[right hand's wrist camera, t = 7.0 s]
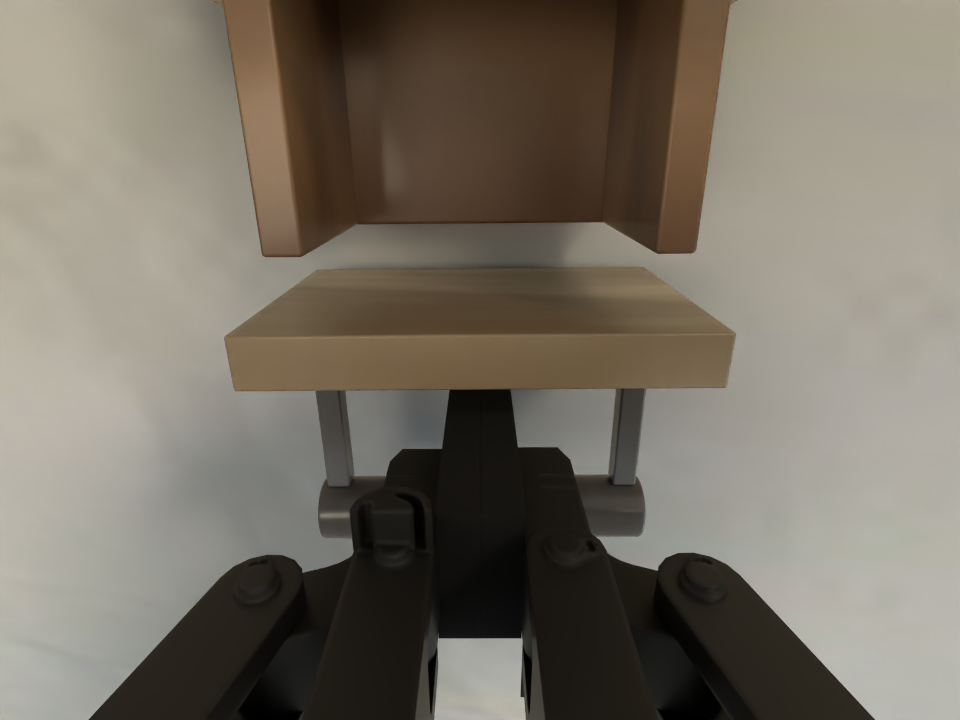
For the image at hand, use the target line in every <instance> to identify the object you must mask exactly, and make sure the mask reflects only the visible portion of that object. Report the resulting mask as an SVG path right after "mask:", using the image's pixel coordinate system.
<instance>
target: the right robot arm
mask: <svg viewBox="0 0 960 720" xmlns="http://www.w3.org/2000/svg"><path fill="white" fill-rule="evenodd" d="M349 513H350V522H351V531H352V541H353V550H354V552H353V555H352V556H351V557H350V558H348V559H346V560H344V561H342V562H340V563H338V564H335V565H332V566H329V567H325V568H321V569H317V570H313V571H309V572H305V573H302V568H301V567H300V566H299V565H298V564H297V562H296V561H295V560H293V559H291V558H288V557H285V556H283V555H265V556H260V557H256V558H251V559H249V560H247V561H245V562H242V563H240V564H238V565H236V566H234V567H233V568H232V569H230V570H229V571H228V572H227V573H225V574H224V575H223V576H222V577H221V578H220V579H219V580H218V581H217V582H216V583H215V584H214V585H213V586H212V587H211V588H210V589H209V591H208V592H207V593H206V594H205V595H204V596H203V597H202V598H201V599H200V600H199V601H198V602H197V603H196V605H195V606H194V607H193V608H192V609H191V610H190V611H189V612H188V613H187V614H186V615H185V616H184V617H183V619H182V620H181V621H180V622H179V623H178V624H177V625H176V626H175V627H174V628H173V629H172V630H171V631H170V633H169V634H168V635H167V636H166V637H165V638H164V639H163V640H162V641H161V642H160V643H159V644H158V645H157V647H156V648H155V649H154V650H153V651H152V652H151V653H150V654H149V655H148V656H147V657H146V658H145V659H144V661H143V662H142V663H141V664H140V665H139V666H138V667H137V668H136V669H135V670H134V671H133V672H132V673H131V675H130V676H129V677H128V678H127V679H126V680H125V681H124V682H123V683H122V684H121V685H120V686H119V687H118V689H117V690H116V691H115V692H114V693H113V694H112V695H111V696H110V697H109V698H108V699H107V700H106V701H105V703H104V704H103V705H102V706H101V707H100V708H99V709H98V710H97V711H96V712H95V713H94V714H93V715H92V717H91V718H90V719H89V720H434V713H435V700H436V687H437V674H438V650H437V642H438V633H439V638H521V635H522V639H523V650H522V675H521V697H524V699H525V712H526V720H875V719H874V718H873V717H872V716H871V715H870V714H869V713H868V712H867V711H866V710H865V709H864V707H863V706H862V705H861V704H860V703H859V702H858V701H857V700H856V699H855V698H854V697H853V696H852V695H851V694H850V692H849V691H848V690H847V689H846V688H845V687H844V686H843V685H842V684H841V683H840V682H839V681H838V680H837V679H836V678H835V676H834V675H833V674H832V673H831V672H830V671H829V670H828V669H827V668H826V667H825V666H824V665H823V664H822V663H821V661H820V660H819V659H818V658H817V657H816V656H815V655H814V654H813V653H812V652H811V651H810V650H809V649H808V648H807V646H806V645H805V644H804V643H803V642H802V641H801V640H800V639H799V638H798V637H797V636H796V635H795V634H794V633H793V631H792V630H791V629H790V628H789V627H788V626H787V625H786V624H785V623H784V622H783V621H782V620H781V619H780V618H779V616H778V615H777V614H776V613H775V612H774V611H773V610H772V609H771V608H770V607H769V606H768V605H767V604H766V603H765V602H764V600H763V599H762V598H761V597H760V596H759V595H758V594H757V593H756V592H755V591H754V590H753V589H752V588H751V587H750V585H749V584H748V583H747V582H746V581H745V580H744V579H743V578H742V577H741V576H740V575H739V574H738V573H737V572H735V571H734V570H733V569H732V568H730V567H729V566H728V565H727V564H725V563H723V562H721V561H718V560H716V559H714V558H712V557H710V556H705V555H701V554H697V553H677V554H675V555H672V556H670V557H667V558H665V560H664V561H663V562H662V563H661V564H660V565H659V568H658V571H656V570H652V569H647V568H643V567H639V566H635V565H632V564H629V563H625V562H622V561H620V560H618V559H616V558H614V557H612V556H610V555H609V554H608V553H607V551H606V549H605V548H604V546H603V544H602V543H601V541H600V540H599V539H598V538H596V537H595V536H594V535H593V534H591V530H590V527H589V523H588V520H587V517H586V513H585V510H584V506H583V503H582V499H581V496H580V492H579V489H578V485H577V482H576V478H575V477H574V472H573V468H572V465H571V461H570V459H569V458H568V457H567V456H566V455H565V454H564V453H563V452H562V451H561V450H560V449H559V448H558V447H518V446H517V438H516V430H515V422H514V414H513V406H512V398H511V390H510V389H476V390H450V391H449V399H448V407H447V415H446V423H445V431H444V438H443V446H442V449H402V450H401V451H400V452H399V453H398V454H397V455H396V456H395V457H394V458H393V459H392V460H391V461H390V464H389V467H388V471H387V474H386V479H385V481H384V484H383V487H382V488H379V489H376V490H373V491H370V492H367V493H366V494H364V495H363V496H361V497H360V498H359V499H357V500H356V501H355V502H354V504H353V505H352V507H351V508H350V510H349Z"/></svg>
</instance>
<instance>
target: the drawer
mask: <svg viewBox="0 0 960 720" xmlns="http://www.w3.org/2000/svg"><path fill="white" fill-rule="evenodd" d="M223 6H224V13H225V19H226V26H227V32H228V39H229V45H230V51H231V58H232V64H233V71H234V77H235V83H236V90H237V96H238V103H239V109H240V116H241V122H242V128H243V135H244V141H245V148H246V154H247V160H248V167H249V173H250V180H251V186H252V193H253V199H254V205H255V212H256V218H257V225H258V231H259V238H260V244H261V250H262V255H263V256H264V257H301V256H304V255H305V254H307V253H309V252H310V251H312V250H314V249H315V248H317V247H319V246H321V245H322V244H324V243H326V242H327V241H329V240H331V239H333V238H334V237H336V236H338V235H339V234H341V233H343V232H344V231H346V230H348V229H350V228H351V227H353V226H355V225H356V224H448V223H567V222H604V223H605V224H607V225H609V226H611V227H612V228H614V229H616V230H617V231H619V232H621V233H623V234H624V235H626V236H628V237H630V238H631V239H633V240H635V241H636V242H638V243H640V244H642V245H643V246H645V247H647V248H648V249H650V250H652V251H654V252H655V253H658V254H687V253H694V252H695V251H696V247H697V240H698V232H699V225H700V218H701V210H702V203H703V196H704V189H705V181H706V174H707V167H708V160H709V152H710V145H711V138H712V130H713V123H714V116H715V109H716V101H717V94H718V87H719V79H720V72H721V65H722V58H723V50H724V43H725V36H726V29H727V21H728V14H729V7H730V0H223ZM735 337H736V334H735V332H734V331H732V330H731V329H729V328H728V327H727V326H725V325H724V324H722V323H721V322H720V321H718V320H717V319H715V318H714V317H713V316H711V315H710V314H708V313H707V312H706V311H704V310H703V309H701V308H700V307H699V306H697V305H696V304H694V303H693V302H692V301H690V300H689V299H687V298H686V297H685V296H683V295H682V294H680V293H679V292H678V291H676V290H675V289H673V288H672V287H671V286H669V285H668V284H666V283H665V282H664V281H662V280H661V279H659V278H658V277H657V276H655V275H654V274H652V273H651V272H650V271H648V270H647V269H645V268H644V267H617V268H492V269H366V270H316V271H315V272H313V273H312V274H311V275H309V276H308V277H306V278H305V279H304V280H302V281H301V282H300V283H298V284H297V285H295V286H294V287H293V288H291V289H290V290H288V291H287V292H286V293H284V294H283V295H282V296H280V297H279V298H277V299H276V300H275V301H273V302H272V303H271V304H269V305H268V306H266V307H265V308H264V309H262V310H261V311H259V312H258V313H257V314H255V315H254V316H253V317H251V318H250V319H248V320H247V321H246V322H244V323H243V324H241V325H240V326H239V327H237V328H236V329H235V330H233V331H232V332H230V333H229V334H228V335H226V336H225V338H224V340H225V345H226V350H227V355H228V360H229V366H230V371H231V376H232V381H233V386H234V390H235V391H316V398H317V405H318V413H319V421H320V428H321V436H322V443H323V451H324V458H325V466H326V474H327V478H326V479H325V481H324V483H323V486H322V489H321V492H320V497H319V505H318V522H319V528H320V532H321V535H322V536H323V537H324V538H352V531H351V522H350V513H349V510H350V508H351V507H352V505H353V504H354V502H355V501H356V500H357V499H359V498H360V497H361V496H363V495H364V494H366V493H367V492H370V491H373V490H376V489H379V488H382V487H383V484H384V481H385V479H386V476H354V467H353V458H352V448H351V439H350V430H349V421H348V412H347V403H346V394H345V390H476V389H616V397H615V407H614V418H613V429H612V440H611V451H610V462H609V472H608V473H609V475H574V477H575V478H576V482H577V485H578V489H579V492H580V496H581V499H582V503H583V506H584V510H585V513H586V517H587V520H588V523H589V527H590V530H591V534H593V535H594V536H595V537H638V536H640V535H641V534H642V532H643V530H644V525H645V500H644V494H643V490H642V486H641V483H640V481H639V479H638V477H637V476H636V471H637V462H638V454H639V445H640V436H641V427H642V419H643V410H644V401H645V392H646V388H725V387H727V383H728V377H729V371H730V366H731V360H732V354H733V349H734V343H735Z"/></svg>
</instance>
